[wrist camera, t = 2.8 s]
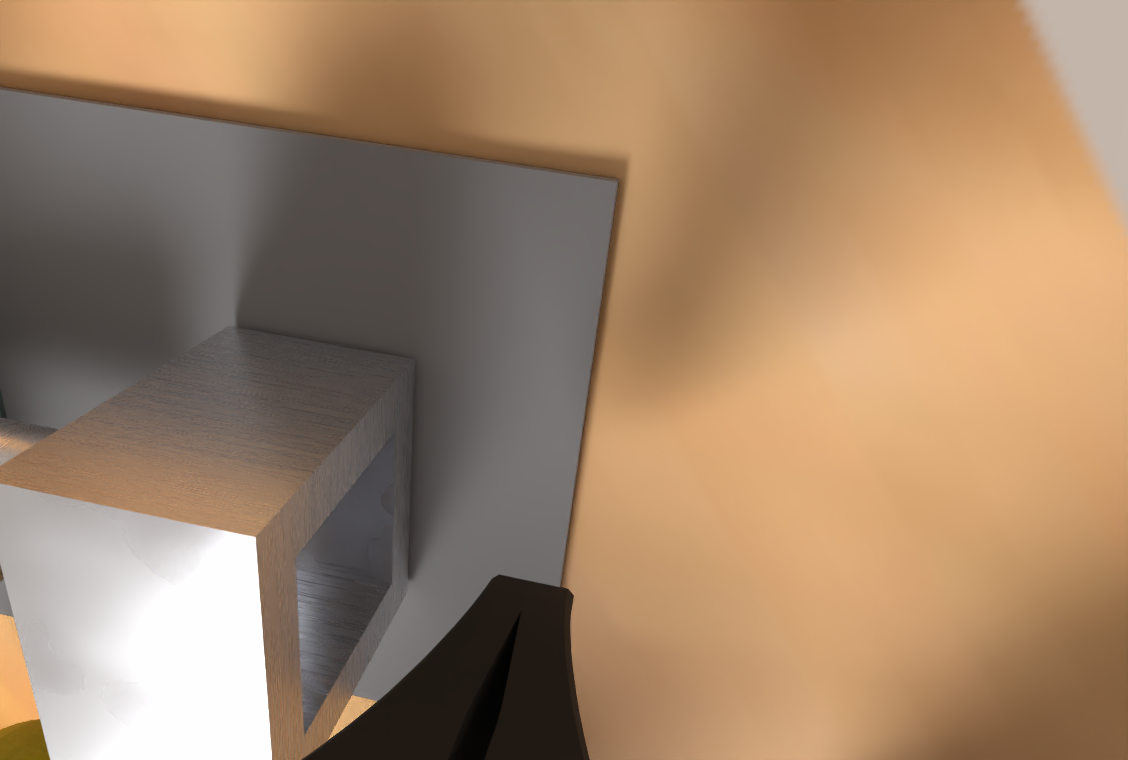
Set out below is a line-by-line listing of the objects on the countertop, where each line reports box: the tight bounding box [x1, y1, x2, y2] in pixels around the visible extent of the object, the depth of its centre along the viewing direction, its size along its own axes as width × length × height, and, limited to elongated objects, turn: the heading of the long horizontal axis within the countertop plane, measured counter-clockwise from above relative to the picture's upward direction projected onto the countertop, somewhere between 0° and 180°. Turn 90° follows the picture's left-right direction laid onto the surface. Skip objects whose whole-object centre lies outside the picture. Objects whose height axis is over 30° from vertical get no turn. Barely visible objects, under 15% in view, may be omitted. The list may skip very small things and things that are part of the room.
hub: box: [0, 326, 415, 760], centre depth 14 cm, size 4×6×6 cm, turn 173°
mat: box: [0, 87, 619, 701], centre depth 18 cm, size 18×14×1 cm
